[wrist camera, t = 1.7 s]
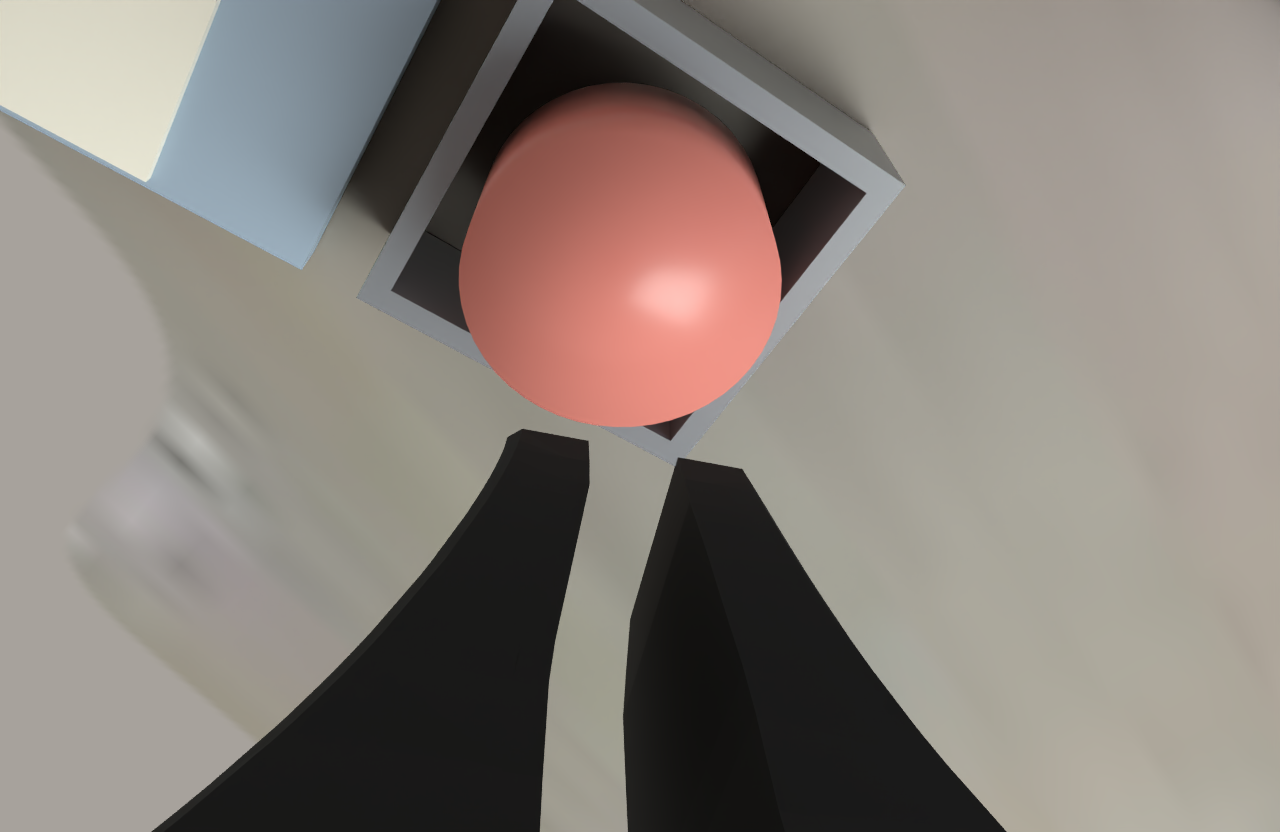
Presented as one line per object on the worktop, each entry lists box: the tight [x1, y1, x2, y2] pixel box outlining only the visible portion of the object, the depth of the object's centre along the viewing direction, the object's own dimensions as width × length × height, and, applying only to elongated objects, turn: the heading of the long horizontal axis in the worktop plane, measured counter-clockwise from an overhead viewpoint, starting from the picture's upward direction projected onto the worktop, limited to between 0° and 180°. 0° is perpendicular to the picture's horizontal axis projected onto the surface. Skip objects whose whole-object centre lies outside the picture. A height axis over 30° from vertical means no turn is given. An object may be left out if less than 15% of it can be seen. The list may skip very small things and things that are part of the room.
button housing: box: [356, 0, 906, 466], centre depth 16 cm, size 6×6×2 cm
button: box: [459, 83, 782, 427], centre depth 15 cm, size 4×4×2 cm
